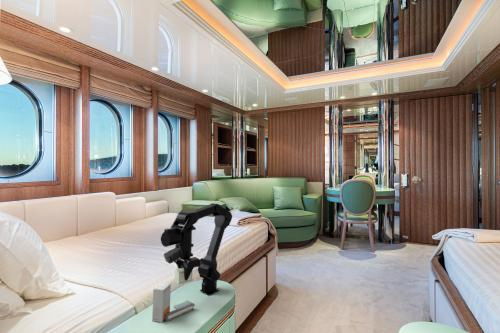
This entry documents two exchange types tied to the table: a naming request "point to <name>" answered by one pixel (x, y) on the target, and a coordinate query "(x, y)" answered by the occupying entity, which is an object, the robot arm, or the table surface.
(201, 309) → the table surface
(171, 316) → the rail
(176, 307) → the facing pad
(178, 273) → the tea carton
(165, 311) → the skincare box
